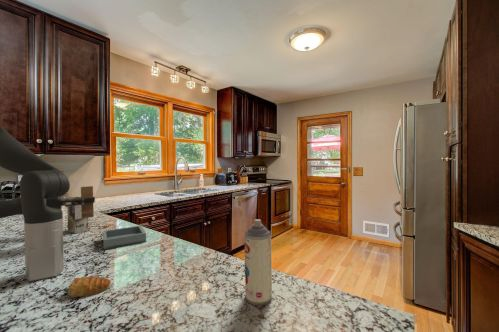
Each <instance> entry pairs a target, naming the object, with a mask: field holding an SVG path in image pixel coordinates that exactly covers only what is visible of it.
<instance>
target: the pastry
mask: <svg viewBox="0 0 499 332" xmlns="http://www.w3.org/2000/svg"><path fill="white" fill-rule="evenodd" d="M111 283H112V282H111V280H110V278H107V277H104V276H103V277H102V276H94V275H90V276H87V275H86V276H83V277H81V278H79V277H75V278H74V279H73V280H72V281H71V283H70V284H69V288H68V291H67V296H69V297H71V298H77V297H82V296H83V297H87V296H92V295H95V294H96V293H97V294H99V293H102V292H104V291H106V290H108V289H109V287H110V285H111Z"/></svg>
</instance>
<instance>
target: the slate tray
mask: <svg viewBox="0 0 499 332" xmlns="http://www.w3.org/2000/svg"><path fill="white" fill-rule="evenodd" d="M102 233H103V234H102V235H103V236H102V237H103V242H102V243H103V250H104V251H105V250H110V249H116V248H121V247H127V246H133V245H138V244H144V243H147V232H146V231H145V230H144V228H143V227H142V225H135V226H129V227H127V226H126V227H120V228H114V229H109V230H103V231H102Z"/></svg>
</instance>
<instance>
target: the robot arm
mask: <svg viewBox="0 0 499 332" xmlns="http://www.w3.org/2000/svg"><path fill="white" fill-rule="evenodd" d="M0 167H1V168H2V169H4V170H7V171H10V172H12V173H15V174H18V175H21V178H20V181H19V193H20V195H21V197H16V198H12V199H10V200H6V199H5V195H4V194H3V192H2V190H1V189H0V219H4V218H8V217H13V216H18V215H19V216H20V215H22V216H23V225H24V226H23V227H24V229H23V230H24V233H23V234H24V237H23V238H24V267H25V268H24V269H25V272H24V273H25V280H28V282H33V281H38V280H42V279H47V278H51V277H56V275H57V274H60V273H62V272H63V271H64V269H65V265H64V264H65V261H64V259H65V258H64V257H65V256H64V225H63V224H64V221H63V220H64V219H63V217H64V214H63V209H62V206H63V207H66V208H67V207H70V206H77V205H82V204H84V203H93V204H94V203H95V201H96V199H95V198H96V197H95V196H93V198H85V199H84V198H82V199H81V196H73V197H71V196H67V197H65V199H61V196H63V195H65V194H66V193H69V191H70V188H71V187H70V186H71V184H70V183H71V182H70V180H69V177H68V176H67V175H66V174H65V173H64V172H63V171H61V170H60V169H59V168H56V167H55V166H53V165H52V164H50V163H48V162H47V161H45V160H43V159H42V158H41V157H39V156H38V155H37V154H35V153H34V152H32V151H31V150H30V149H29V148H28V147H27V146H26V145H24V144H23V143H21V142H20V141H19V140H17V139H16V138H14V136H13V135H11V134H10V133H9V132H8V131H7V130H6V129H5V128H4V127H3V126H2V125H1V124H0ZM20 195H19V196H20Z"/></svg>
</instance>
